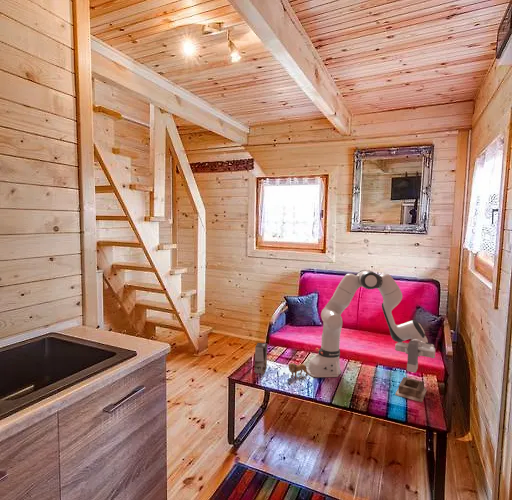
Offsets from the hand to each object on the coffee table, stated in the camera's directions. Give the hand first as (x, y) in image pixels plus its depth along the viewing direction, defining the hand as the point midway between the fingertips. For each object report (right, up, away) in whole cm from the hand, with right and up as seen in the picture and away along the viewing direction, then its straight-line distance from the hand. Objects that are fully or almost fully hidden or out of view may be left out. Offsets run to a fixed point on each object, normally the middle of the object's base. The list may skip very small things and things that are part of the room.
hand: (412, 353), depth 178 cm
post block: (0, -22, +2) cm, 22 cm away
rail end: (0, -9, +1) cm, 9 cm away
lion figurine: (-60, -20, +19) cm, 66 cm away
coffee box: (-82, -19, +27) cm, 88 cm away
